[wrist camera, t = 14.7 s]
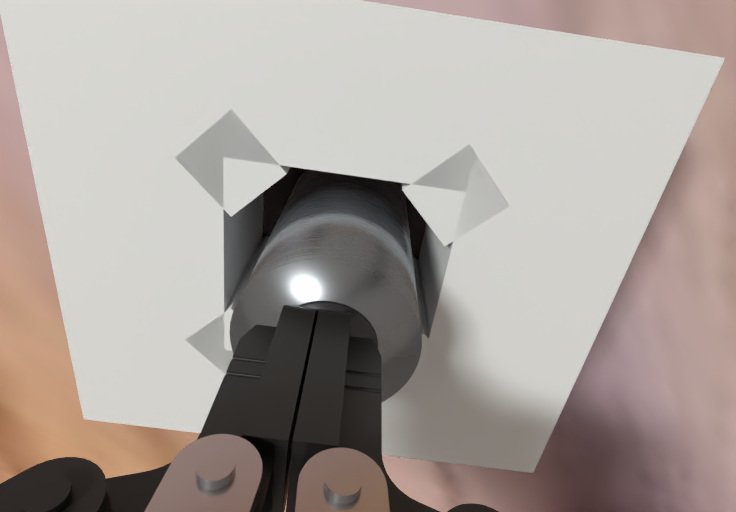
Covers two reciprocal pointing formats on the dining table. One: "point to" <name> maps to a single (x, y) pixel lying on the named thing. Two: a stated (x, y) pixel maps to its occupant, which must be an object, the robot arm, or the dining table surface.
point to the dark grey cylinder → (342, 267)
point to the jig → (349, 157)
